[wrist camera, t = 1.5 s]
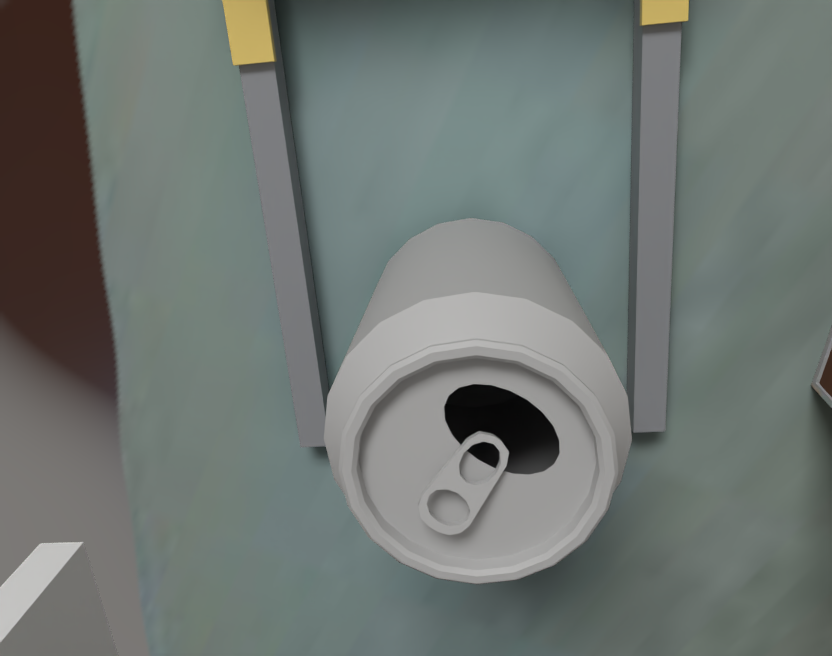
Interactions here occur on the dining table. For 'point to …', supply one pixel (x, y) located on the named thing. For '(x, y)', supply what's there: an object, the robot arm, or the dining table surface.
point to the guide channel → (649, 206)
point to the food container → (824, 373)
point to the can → (476, 409)
